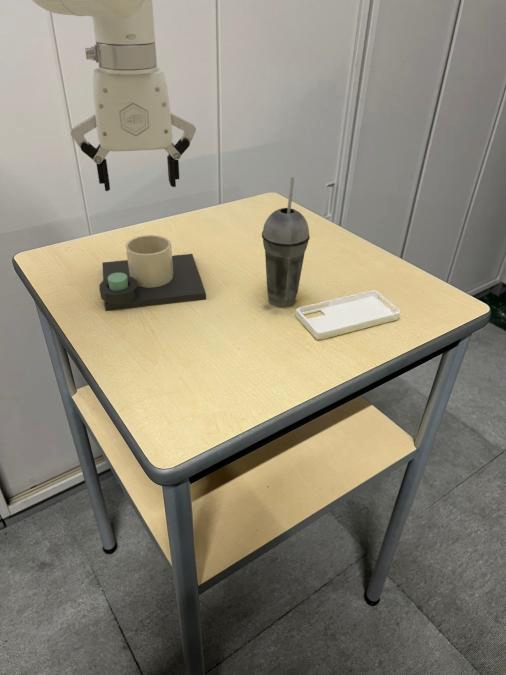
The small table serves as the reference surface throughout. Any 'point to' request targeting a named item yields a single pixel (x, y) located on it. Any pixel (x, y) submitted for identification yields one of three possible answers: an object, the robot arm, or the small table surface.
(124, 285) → the button
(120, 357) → the small table surface
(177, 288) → the scale
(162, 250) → the beige cup
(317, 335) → the phone case
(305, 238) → the beverage cup
